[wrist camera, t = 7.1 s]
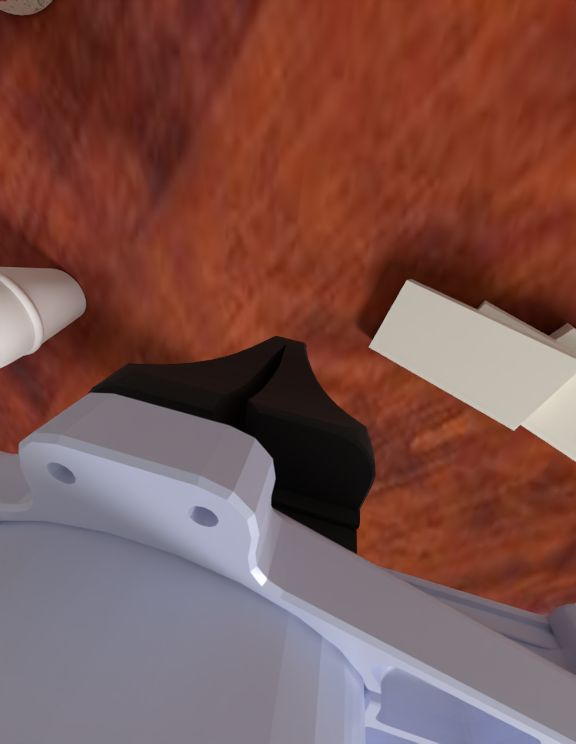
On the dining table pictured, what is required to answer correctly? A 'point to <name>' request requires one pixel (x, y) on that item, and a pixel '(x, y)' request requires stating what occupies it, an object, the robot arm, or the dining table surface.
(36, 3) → the teacup with lid
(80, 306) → the soft serve ice cream cone
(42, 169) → the dining table surface
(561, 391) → the domino
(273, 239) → the dining table surface
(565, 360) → the domino
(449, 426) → the dining table surface
